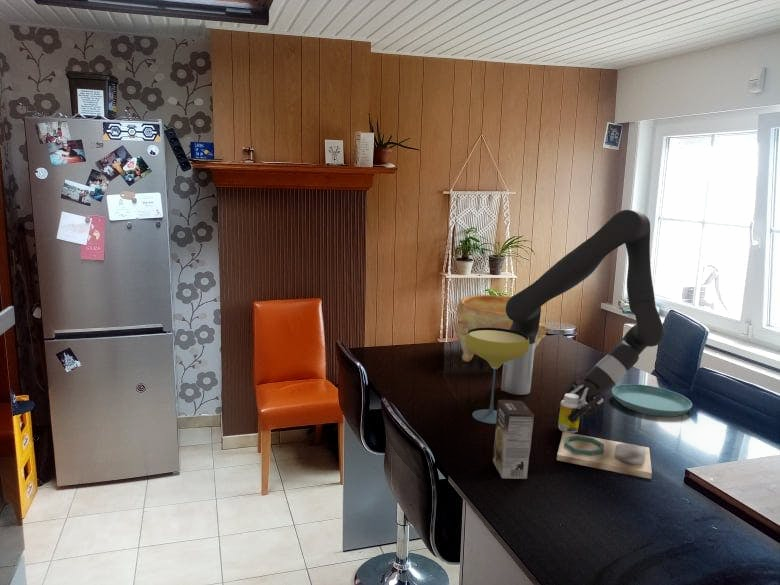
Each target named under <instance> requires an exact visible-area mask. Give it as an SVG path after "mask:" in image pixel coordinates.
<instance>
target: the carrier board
mask: <svg viewBox="0 0 780 585" xmlns="http://www.w3.org/2000/svg"><path fill="white" fill-rule="evenodd" d="M561 434H562V435H561V439H560V441H559V442H560V443H559V446H558V451H557V453H556V454H557V455H556V461H560V462H564V463H569V464H574V465H579V466H585V467H590V468H594V469H600V470H603V471H604V470H605V471H610V472H614V473H618V474H623V475H624V474H625V475H628V476H629V475H630V476H634V477H638V478H644V479H649V480H652V476H653V475H652V474H653V471H652V463H651V462H652V461H651V453H650V447H647V446H643V445H637V444H632V443H625V442H622V441H616V440H610V439H604V438H598V437H594V436H588V435H582V434H578V433H567V432H563V431H562V433H561Z"/></svg>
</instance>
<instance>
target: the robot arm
mask: <svg viewBox="0 0 780 585" xmlns="http://www.w3.org/2000/svg"><path fill="white" fill-rule="evenodd" d="M622 245H625V249H626V252H627V253H626V254H627V261H628V262H627V263H628V265H627V275H626V291H627V300H628V307H629V310H630V312H631V313H632V314H634V316H635V321H636V323H635V324H634V325H633V326H631V327H630V329H628V331H627V332H626V333H625V335H624V336H623V337H622V339H620V342H619V343H618V344H617V345H616V346H614V348H613V349H612V350H610V352H608V354H606V355H605V356H604V357H603V358H602V359H600V360H599V361H598V362H597V363H596V364H595V365H594V366H593V367H592V368H591V369H590V370H589V371H588V372H587V373H586V374H585V376H584V381H582V382H580V383H578V382H577V381H576V380H573V381H572V382H571V383H570V385H569V386H568V387H567V388H566V389H565V390H564V392H563V393H562V396H563V398H564V396H565V394H567V393H571V394H576V395H578V396H579V403H580V404H579V405H578V407H577V408H578V409H577V408H576V409H575V410H574V411H573V412H572V413H571V414H570V415H569V416H568V417H567V418H568V419H569V421H570V422H572V423H573V422H574V421H576V420H577V419H578V418H579V417H580V418H581V416H582V415H585V414H586V416H591V415H592V414H593V413H594V412H595V411H597V410H598V409H599V408H601V407H602V406H603V405H604V404H605V403H606V402H605V400H604V398H603V396H605V395H606V394H608V393H609V392H610V391H612V388H613V387H615V386H617V384H618V383H619V382H620V381H621V380H622V379H623V378H624V376H625V375H626V374H627V373H628V372H629V371H630V369H631V368H633V366H635V364H636V363H637V362H638V361H639V358H640V357H639V356H640V355H641V353H642V352H643V351H644V350H645V349H647V347H649V348H650V347H655V346H658V345H659V344H661V342H662V341H663V338H664V326H663V323H662V320H661V316H660V314H659V311H658V308H657V306H656V298H655V292H654V285H653V279H652V278H653V277H652V268H651V247H650V246H651V222H650V219H649V217H648V216H647V215H646V214H645V213H644V212H641V211H638V210H636V209H627V208H626V209H622V210H620V211H618V212H617V213H615V214H614V215H613V216H612V217H611V218H609V220H608V221H607V222H605V223H604V225H602V226H601V227H600V228H599V229H598V231H596V232H595V233H594V234H593V235H591V236H590V237H589V238H588V239H586V240H585V241H583V242H581V244H579V245H578V246H577V247H575V248H574V249H573V250H571V251H570V252H568V253H567V254H566V255H564V256H563V257H562V258H561V259H559V260H557V262H556V263H555V264H554V265H552V266H551V267H550V268H549V269H548V270H547V271H545V272H544V273H543V274H542V275H541V276H540V277H539V278H538V279H536V280H535V281H534V282H533V283H531V284H530V285H528V286H527V287H525V288H524V289H522V290H521V291H519V292H517V293H516V294H514V295H512V296H510V297H511V298H510V299H509V300H508V302H507V304H506V314H507V316H508V318H509V319H511V320H512V321H513V323H512V326H511V328H510V329H509V330H513V331H517V332H521V333H523V334H525V335H527V336H528V337H529V349H528V351H527V352H526V353H525V354H524V355H522V356H521V357H519V358H516V359H513V360H510V361H507V362H505V363H503V364H502V376H501V387H500V391H501V392H502V391H503V392H506V393H508V394H512V395H516V396H517V395H518V396H524V395H528V394H530V393H531V389H532V386H531V385H532V379H533V378H532V376H533V366H534V358H535V350H534V348H535V339H536V336H537V333H538V330H539V323H541V322H540V321H541V315H542V306H544V305H545V304H546V303H548V302H549V301H550V300H552V299H554V298H557V297H559V296H560V295H563V294H564V293H566V292H568V291H569V290H571V289H572V288H574V287H576V286H578V285H579V284H580V283H582V282H583V281H585V280H586V279H587V278H588V277H590V276H591V275H592V274H593V273H594V272H595V271H596V269H597V268H598V266H600V264H601V263H602V261H603V260H604V259H605V258H606V257H607V256H608V255H609V254H611V253H612V252H614V250H617V249H618V248H619V247H621V246H622ZM535 349H536V348H535ZM602 395H603V396H602ZM560 405H561V403H559V404H558V405H557V407H556V408H555V410H556V412H557V413H558V414H560Z"/></svg>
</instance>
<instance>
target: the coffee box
mask: <svg viewBox="0 0 780 585" xmlns="http://www.w3.org/2000/svg"><path fill="white" fill-rule="evenodd" d="M496 411H497V418H496V424H495V430H494V431H495V432H494V440H493V442H494V443H493V457H492V462H493V465H494V466H495V468H496V470H497V472H498V474H499V475H500V477H501V479H514V480H515V479H518V480H519V479H521V480H526V479H528V471H529V463H530V453H531V448H532V447H531V445H532V435H533V429H534V428H533V426H534V418H535V417H534V416H535V414H534V413H533V412H532V411H531V410H530V408H529V407H528V406H527V405H526V403H525V402H524V400H513V399H498V400H497V409H496Z"/></svg>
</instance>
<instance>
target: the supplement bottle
mask: <svg viewBox="0 0 780 585" xmlns="http://www.w3.org/2000/svg"><path fill="white" fill-rule="evenodd" d="M560 404H561V405H560ZM560 404H559V405H560V413H558V424H557V426H558V427H557V428H558V429H559V431H561V432H562V433H563V432H567V433H572V434H576V433H578V430H579V424H580V418H581V416H580V417H579V418H578V419H577V420H576V421H574V422H573V423H572V422H570V421H569V419H568V418H567V417H568V416H569V415H570V414H571V413H572V412H573V411H574V410H575V409H576V408H577V407H578V405H579V404H580V401H579V396H578V395H576V394H571V393H570V392H569V393H567V394H565V396H564V397H563V399H562V400H561V401H560ZM577 409H578V408H577Z"/></svg>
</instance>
